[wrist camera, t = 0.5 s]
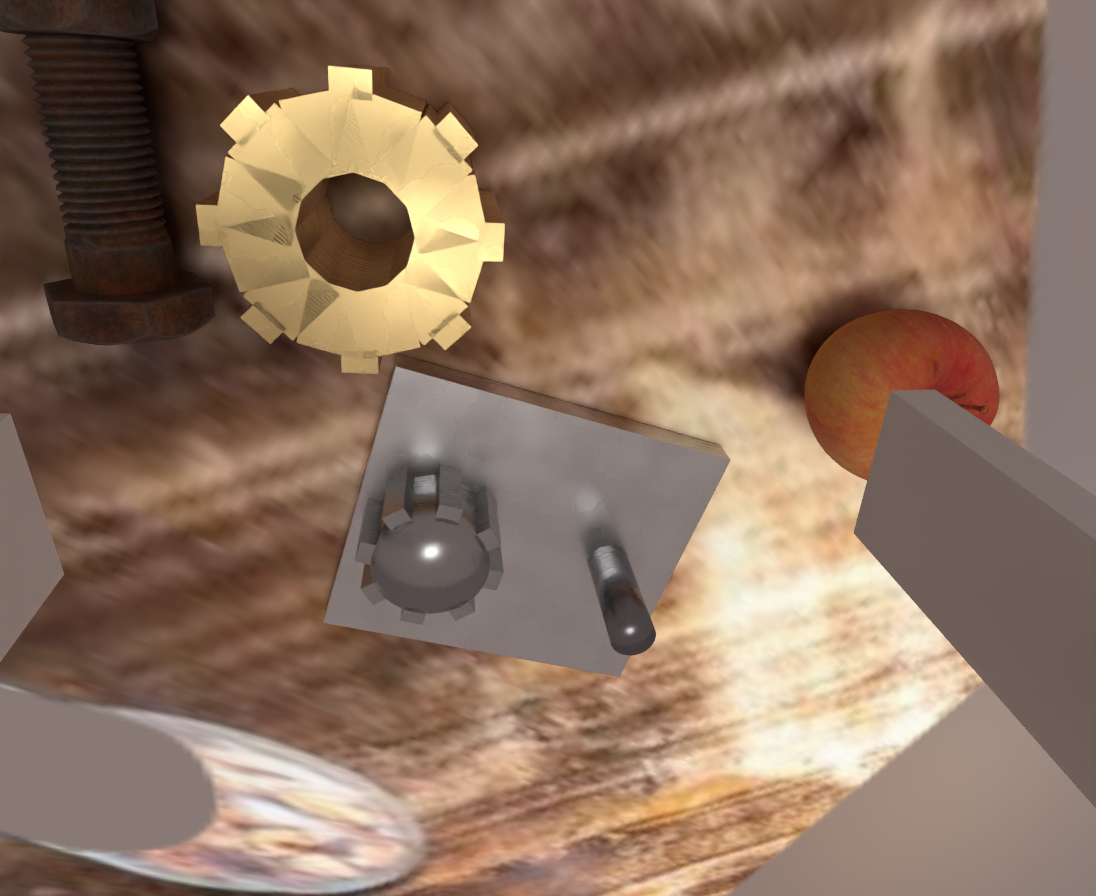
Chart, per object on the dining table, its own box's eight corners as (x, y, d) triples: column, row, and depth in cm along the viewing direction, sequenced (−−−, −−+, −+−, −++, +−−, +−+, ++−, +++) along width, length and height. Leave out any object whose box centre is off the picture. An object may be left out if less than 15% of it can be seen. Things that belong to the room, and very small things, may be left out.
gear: (232, 272, 30) (177, 327, 24) (276, 25, 26) (224, 13, 20) (454, 338, 32) (456, 403, 26) (522, 119, 28) (544, 135, 22)
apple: (743, 377, 35) (819, 458, 28) (860, 253, 33) (975, 305, 26) (840, 457, 38) (932, 548, 31) (954, 347, 35) (1080, 418, 28)
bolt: (115, -138, 25) (187, 301, 31) (-73, -174, 22) (48, 316, 29) (153, -179, 21) (228, 335, 27) (-73, -231, 18) (69, 357, 24)
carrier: (327, 602, 38) (304, 708, 32) (398, 353, 32) (387, 423, 26) (614, 657, 42) (643, 760, 36) (720, 445, 36) (776, 523, 30)
